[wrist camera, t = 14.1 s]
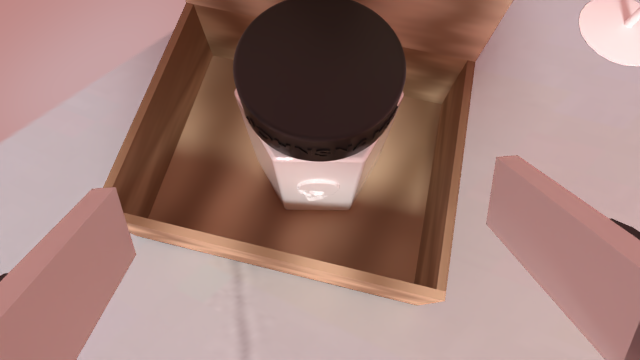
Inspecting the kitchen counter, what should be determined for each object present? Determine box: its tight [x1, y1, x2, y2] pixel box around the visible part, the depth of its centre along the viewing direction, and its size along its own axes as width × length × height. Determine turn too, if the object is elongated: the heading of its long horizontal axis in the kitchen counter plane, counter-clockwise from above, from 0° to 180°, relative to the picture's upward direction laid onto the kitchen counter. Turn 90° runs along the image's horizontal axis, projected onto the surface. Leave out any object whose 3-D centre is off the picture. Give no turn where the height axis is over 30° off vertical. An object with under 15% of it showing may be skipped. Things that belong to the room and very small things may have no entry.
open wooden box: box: [103, 0, 513, 305], centre depth 19 cm, size 20×16×22 cm
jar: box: [233, 0, 406, 210], centre depth 24 cm, size 9×8×12 cm
